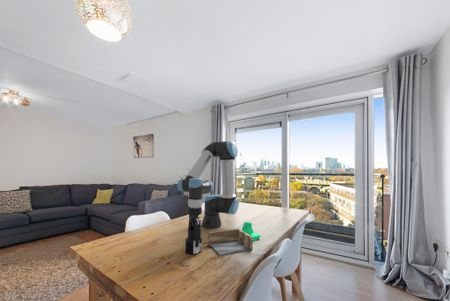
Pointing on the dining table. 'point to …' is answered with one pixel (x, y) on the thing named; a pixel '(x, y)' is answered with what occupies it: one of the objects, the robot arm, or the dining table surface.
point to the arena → (230, 241)
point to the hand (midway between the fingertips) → (193, 249)
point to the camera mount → (250, 230)
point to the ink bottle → (191, 242)
